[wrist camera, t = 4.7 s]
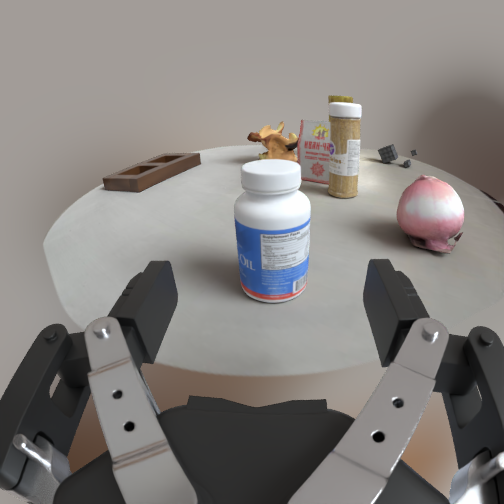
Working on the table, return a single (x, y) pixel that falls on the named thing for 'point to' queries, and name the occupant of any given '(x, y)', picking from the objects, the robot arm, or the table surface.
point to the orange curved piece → (276, 143)
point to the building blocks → (393, 155)
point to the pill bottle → (272, 230)
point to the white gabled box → (314, 150)
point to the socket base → (151, 172)
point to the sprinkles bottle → (344, 149)
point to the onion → (430, 214)
